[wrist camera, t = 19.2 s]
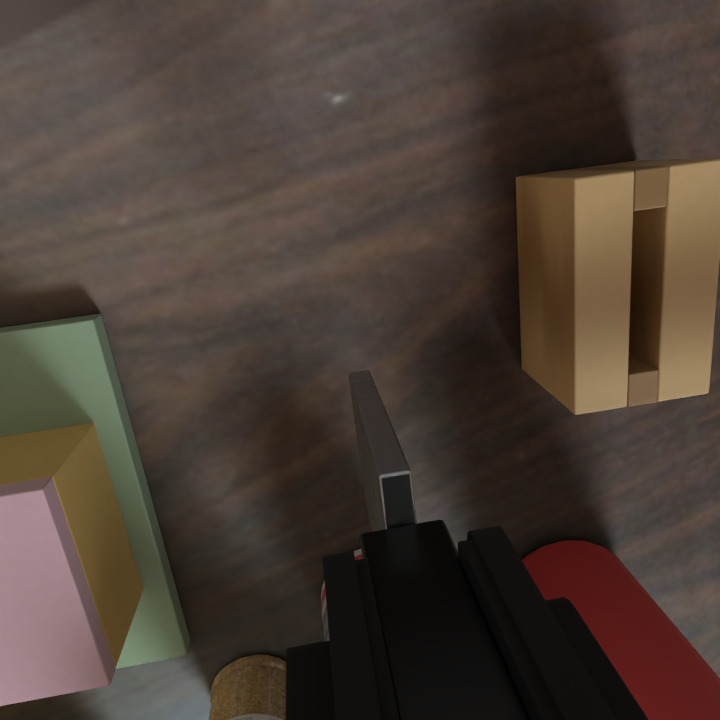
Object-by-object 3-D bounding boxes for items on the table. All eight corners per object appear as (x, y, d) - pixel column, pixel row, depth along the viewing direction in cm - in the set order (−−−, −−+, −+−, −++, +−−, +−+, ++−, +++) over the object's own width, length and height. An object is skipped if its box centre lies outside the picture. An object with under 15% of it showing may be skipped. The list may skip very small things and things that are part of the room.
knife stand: (514, 176, 22) (574, 177, 18) (637, 160, 23) (729, 157, 18) (521, 369, 25) (574, 416, 20) (631, 352, 25) (709, 393, 21)
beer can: (625, 524, 28) (851, 763, 17) (615, 632, 30) (810, 909, 19) (493, 542, 28) (636, 801, 16) (493, 650, 30) (618, 947, 18)
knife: (330, 375, 16) (424, 850, 5) (386, 366, 16) (617, 809, 5) (351, 515, 17) (462, 1151, 6) (403, 506, 17) (612, 1115, 6)
